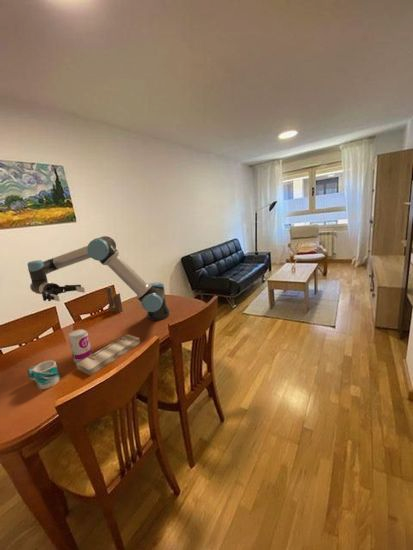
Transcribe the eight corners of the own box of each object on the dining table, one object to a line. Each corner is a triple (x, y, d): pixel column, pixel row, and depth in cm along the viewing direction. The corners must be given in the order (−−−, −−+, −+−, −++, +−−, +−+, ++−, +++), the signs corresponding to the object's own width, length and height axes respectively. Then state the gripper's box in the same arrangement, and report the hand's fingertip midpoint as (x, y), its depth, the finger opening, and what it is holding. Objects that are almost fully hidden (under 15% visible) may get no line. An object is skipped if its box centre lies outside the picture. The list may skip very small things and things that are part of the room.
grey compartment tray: (127, 338, 137) (126, 333, 136) (140, 342, 132) (139, 337, 131) (77, 369, 112) (76, 363, 112) (90, 375, 107) (89, 369, 107)
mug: (48, 390, 100) (44, 372, 98) (25, 387, 103) (19, 370, 100) (63, 376, 108) (59, 360, 106) (41, 374, 110) (36, 358, 108)
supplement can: (96, 356, 122) (90, 329, 118) (82, 366, 115) (75, 338, 111) (85, 353, 125) (79, 327, 121) (70, 362, 118) (63, 335, 114)
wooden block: (119, 313, 174) (115, 289, 169) (108, 311, 179) (104, 288, 174) (123, 311, 177) (119, 287, 172) (112, 309, 182) (108, 286, 177)
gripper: (72, 289, 147) (94, 293, 137) (27, 303, 127) (48, 309, 116) (70, 277, 145) (91, 280, 135) (23, 289, 125) (44, 295, 114)
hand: (71, 294), depth 125 cm, fingers open, 13 cm apart
